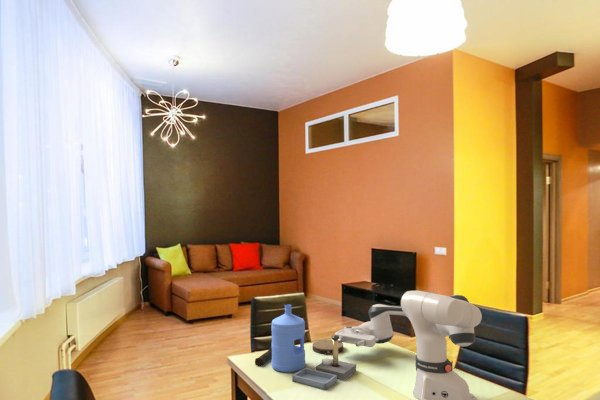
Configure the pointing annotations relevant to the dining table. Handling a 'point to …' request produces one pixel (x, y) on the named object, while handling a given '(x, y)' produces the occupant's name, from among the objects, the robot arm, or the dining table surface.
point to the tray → (314, 378)
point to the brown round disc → (326, 347)
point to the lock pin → (335, 350)
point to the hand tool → (264, 357)
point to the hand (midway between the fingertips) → (347, 343)
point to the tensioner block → (342, 370)
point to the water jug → (288, 342)
